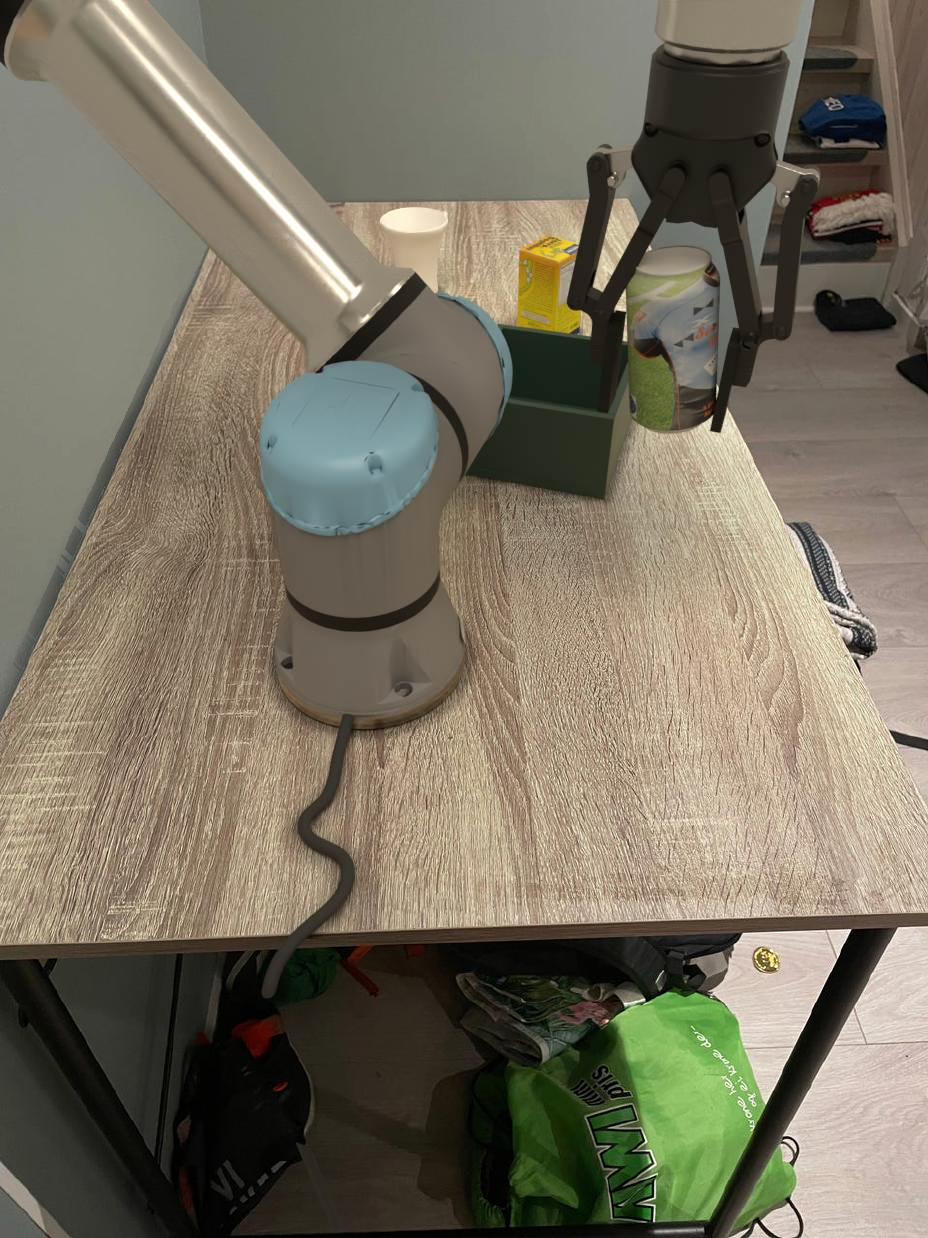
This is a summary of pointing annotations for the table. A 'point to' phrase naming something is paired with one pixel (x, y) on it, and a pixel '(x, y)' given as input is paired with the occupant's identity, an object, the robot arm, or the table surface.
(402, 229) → the cup
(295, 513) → the robot arm
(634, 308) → the beverage can
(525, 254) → the supplement box
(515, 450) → the bin
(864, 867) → the table surface
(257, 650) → the table surface
